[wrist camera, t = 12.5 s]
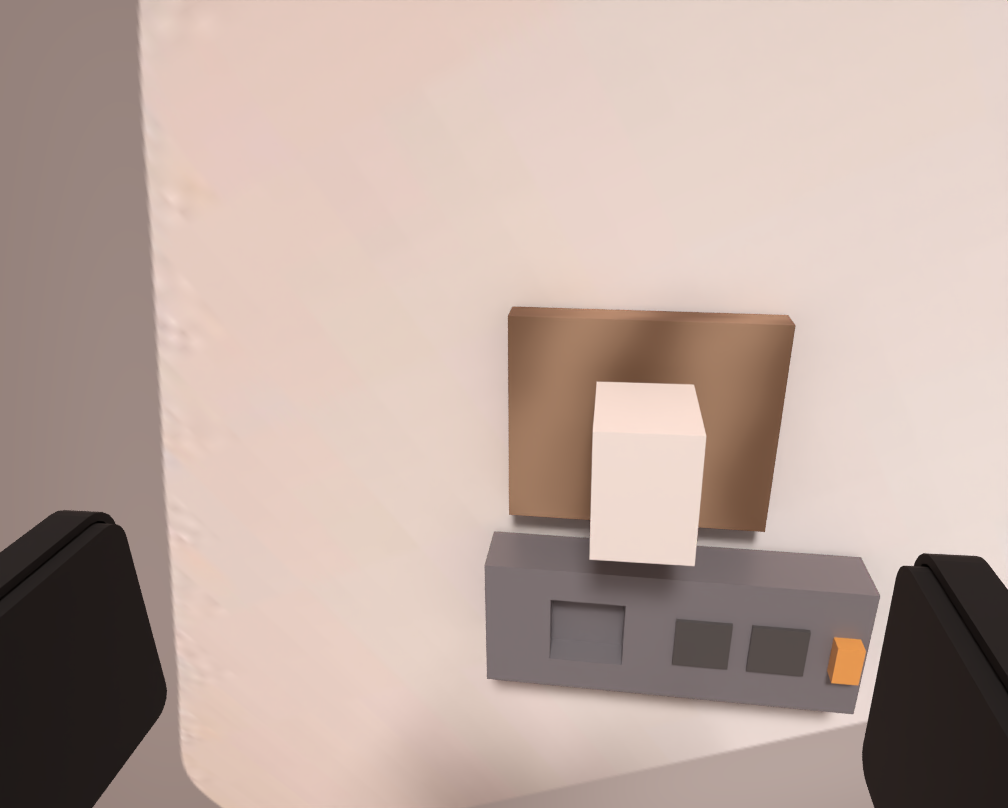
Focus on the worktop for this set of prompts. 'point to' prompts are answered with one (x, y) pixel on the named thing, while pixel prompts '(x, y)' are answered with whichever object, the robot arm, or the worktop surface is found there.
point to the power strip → (680, 623)
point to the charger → (646, 473)
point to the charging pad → (645, 359)
